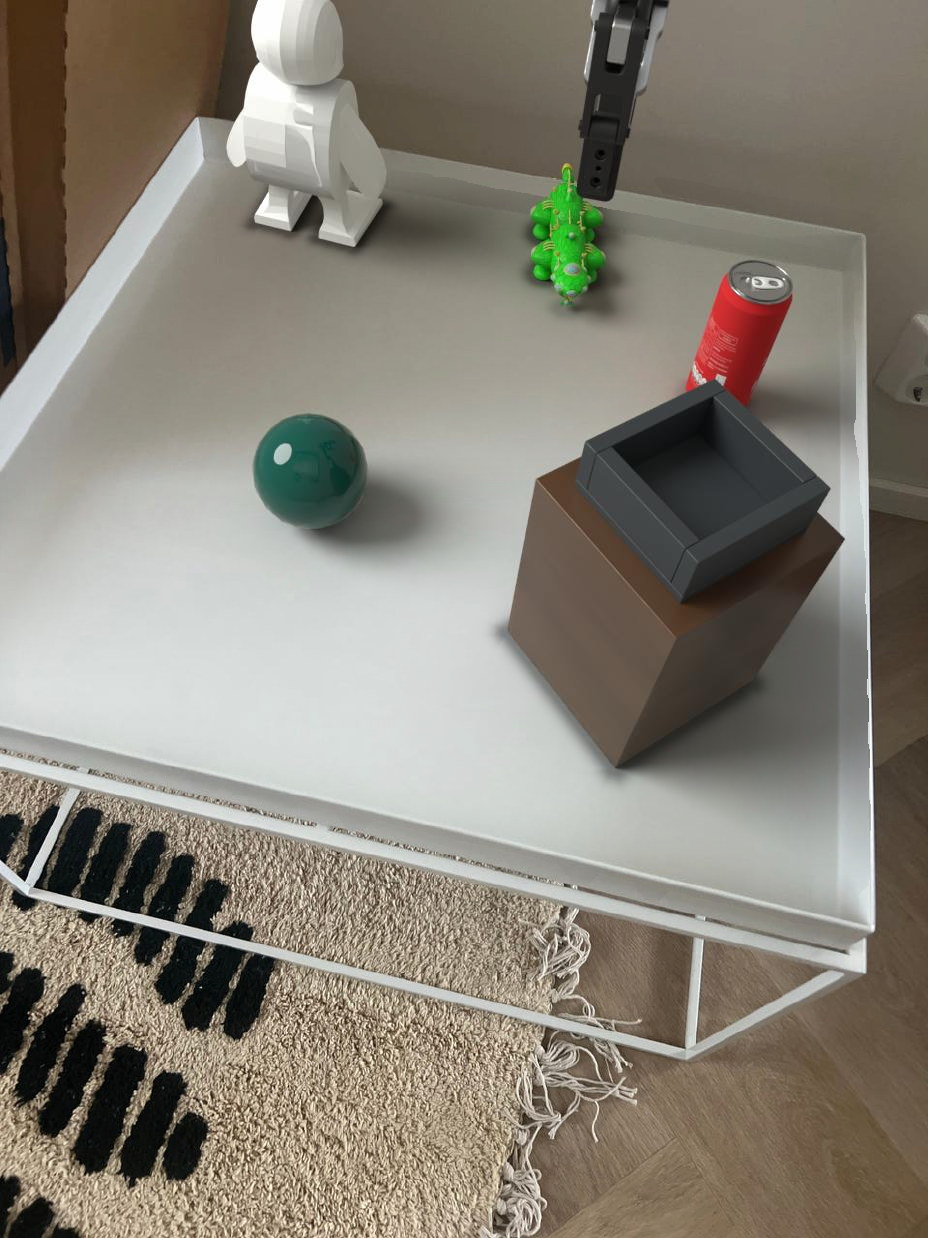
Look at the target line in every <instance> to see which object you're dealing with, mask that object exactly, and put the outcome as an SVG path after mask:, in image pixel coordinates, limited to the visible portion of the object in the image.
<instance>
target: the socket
mask: <svg viewBox="0 0 928 1238" xmlns="http://www.w3.org/2000/svg"><path fill="white" fill-rule="evenodd" d="M580 457H581V460H580V464H579V468H578V473H577V477H576V480H575V484H574V486H575V487H576V489H577V490H578V491H579V492H580V493H581V494H582V495H583V496H584V497H585V499H586V500H587V501H588V502H589V503H590V504H591V505H592V506H593V507H594V509H595V510H596V511H597V512H598V513H599V514H600V515H601V516H602V517H603V519H604V520H605V521H606V522H607V523H608V524H609V525H610V526H611V527H612V529H613V530H614V531H615V532H616V533H617V534H618V535H619V536H620V537H621V539H622V540H623V541H624V542H625V543H626V544H627V545H628V546H629V548H630V549H631V550H632V551H633V552H634V553H635V554H636V555H637V556H638V558H639V559H640V560H641V561H642V562H643V563H644V564H645V565H646V566H647V568H648V569H649V570H650V571H651V572H652V573H653V574H654V575H655V576H656V578H657V579H658V580H659V581H660V582H661V583H662V584H663V585H664V586H665V588H666V589H667V590H668V591H669V592H670V593H671V594H672V595H673V597H674V598H675V599H676V600H677V601H678V602H679V603H680V604H681V603H683V602H684V601H686V600H688V599H690V598H691V597H693V596H695V595H697V594H698V593H700V592H702V591H703V590H705V589H707V588H709V587H710V586H712V585H714V584H715V583H717V582H719V581H721V580H722V579H724V578H726V577H728V576H729V575H731V574H733V573H734V572H736V571H738V570H740V569H741V568H743V567H745V566H747V565H748V564H750V563H752V562H753V561H755V560H757V559H759V558H760V557H762V556H764V555H766V554H767V553H769V552H771V551H772V550H774V549H776V548H778V547H779V546H781V545H783V544H785V543H786V542H788V541H790V540H791V539H793V538H795V537H797V536H798V535H800V534H802V533H804V532H805V531H806V530H807V529H808V527H809V525H810V523H811V522H812V520H813V518H814V516H815V515H816V513H817V512H818V511H819V510H820V508H821V507H822V504H823V503H824V501H825V500H826V498H827V496H828V495H829V493H830V491H831V487H830V486H829V484H827V482H825V481H824V480H823V479H822V478H821V477H819V476H818V475H817V473H816V472H814V471H813V470H812V469H811V467H809V466H808V465H807V464H806V463H805V462H804V461H803V460H802V459H801V458H800V457H799V456H798V455H797V454H796V453H794V452H793V451H792V450H791V449H790V448H789V447H788V446H787V445H786V444H785V443H784V442H783V441H782V440H781V439H780V438H779V437H778V436H777V435H775V433H773V432H772V431H771V430H770V429H769V428H768V427H767V426H766V425H765V424H763V422H761V420H760V419H758V418H757V417H756V415H754V414H753V413H752V412H751V411H750V410H749V409H748V408H747V406H746V407H745V406H743V405H742V404H741V403H740V402H739V401H738V400H737V399H736V398H735V397H734V396H733V395H732V394H731V393H730V392H729V391H728V390H726V389H725V388H724V387H723V386H722V385H721V384H720V383H719V382H718V381H717V380H716V379H713V380H710V381H708V382H706V383H704V384H702V385H700V386H698V387H696V388H694V389H692V390H690V391H688V392H686V391H685V392H684V393H682V394H680V395H677V396H675V397H673V398H671V399H669V400H667V401H664V402H663V403H660V404H659V405H657V406H654V407H653V408H651V409H649V410H646V411H644V412H643V413H640V414H638V415H637V416H634V417H632V418H630V419H628V420H626V421H623V422H622V423H620V424H617V425H615V426H613V427H612V428H609V429H608V430H605V431H603V432H601V433H599V434H596V435H595V436H593V437H591V438H589V439H587V440H585V441H584V444H583V448H582V452H581V456H580Z"/></svg>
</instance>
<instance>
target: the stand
mask: <svg viewBox="0 0 928 1238" xmlns="http://www.w3.org/2000/svg"><path fill="white" fill-rule="evenodd" d="M580 460H581V456H580V457H577V458H575V459H573V460H571V461H569V462H567V463H565V464H562V465H561V466H559V467H557V468H555V469H553V470H550V471H548V472H547V473H545V474H542V475H541V476H539V477H536V478H535V480H534V485H533V486H534V487H533V492H532V497H531V502H530V507H529V512H528V513H529V514H528V517H527V523H526V529H525V533H524V539H523V545H522V550H521V556H520V560H519V566H518V570H517V576H516V581H515V586H514V587H515V588H514V592H513V597H512V603H511V608H510V613H509V618H508V623H507V629H506V631H507V633H509V635H510V636H511V637H512V639H513V640H514V641H515V643H516V644H517V645H518V646H519V648H520V650H522V652H523V653H524V654H525V655H526V656H527V658H528V659H529V661H530V662H531V663H532V665H533V666H534V667H535V668H536V669H537V670H538V672H539V673H540V675H542V678H544V679H545V681H546V682H547V684H548V685H549V686H550V688H552V690H553V692H555V693H556V696H558V697H559V699H560V700H561V701H562V703H563V704H564V705H565V707H566V708H567V709H568V711H570V712H571V714H572V715H573V716H574V718H575V719H576V720H577V721H578V723H579V724H580V725H581V727H582V728H583V729H584V730H585V732H586V733H587V734H588V736H589V737H590V738H591V740H592V741H593V742H594V743H595V745H596V746H597V747H598V748H599V749H600V751H601V752H602V753H603V755H604V756H605V758H607V760H608V761H609V763H610V764H611V765H612V766H613V768H615V769H616V768H618V767H619V766H621V765H622V764H623V763H626V762H627V761H628V760H630V759H631V758H633V757H635V756H636V755H638V754H640V753H641V752H643V751H644V750H646V749H647V748H649V747H650V746H652V745H654V744H655V743H657V742H658V741H660V740H662V739H663V738H665V737H666V736H668V735H669V734H671V733H672V732H674V731H676V730H677V729H680V728H681V727H682V726H684V725H685V724H687V723H688V722H690V721H691V720H693V719H694V718H697V717H698V716H699V715H702V714H703V713H704V712H705V711H707V710H709V709H711V708H712V707H713V706H715V705H717V704H718V703H720V702H721V701H723V700H724V699H726V698H727V697H730V695H732V694H734V693H735V692H737V691H738V690H741V689H742V688H743V687H745V686H747V685H749V684H750V683H751V682H753V681H754V680H755V678H756V677H757V675H758V673H759V672H760V670H761V669H762V668H763V666H764V664H765V663H766V661H767V660H768V658H769V657H770V655H771V653H772V652H773V650H775V647H776V646H777V644H778V643H779V641H781V638H782V637H783V635H784V633H785V632H786V631H787V630H788V627H789V626H790V624H791V623H792V621H793V620H794V618H795V617H796V616H797V614H798V612H799V611H800V609H801V608H802V606H803V605H804V603H805V602H806V600H807V599H808V597H809V596H810V594H811V592H812V591H813V589H814V588H815V586H816V584H817V583H818V582H819V581H820V578H821V577H822V576H823V574H824V573H825V571H826V570H827V568H828V566H829V565H830V563H832V560H833V559H834V557H835V556H836V554H837V553H838V552H839V549H841V547H842V545H843V544H844V542H845V541H846V538H845V536H843V535H842V534H841V533H840V532H839V531H838V530H837V529H836V528H835V527H834V526H833V525H832V524H831V523H830V522H828V520H827V519H826V518H825V517H824V516H822V515H821V514H820V512H818V511H817V513H816V515H815V516H814V518H813V520H812V522H811V523H810V525H809V527H808V529H807V530H806V531H805V532H804V533H802V534H800V535H798V536H797V537H795V538H793V539H791V540H790V541H788V542H786V543H785V544H783V545H781V546H779V547H778V548H776V549H774V550H772V551H771V552H769V553H767V554H766V555H764V556H762V557H760V558H759V559H757V560H755V561H753V562H752V563H750V564H748V565H747V566H745V567H743V568H741V569H740V570H738V571H736V572H734V573H733V574H731V575H729V576H728V577H726V578H724V579H722V580H721V581H719V582H717V583H715V584H714V585H712V586H710V587H709V588H707V589H705V590H703V591H702V592H700V593H698V594H697V595H695V596H693V597H691V598H690V599H688V600H686V601H684V602H683V603H681V604H680V603H679V602H678V601H677V600H676V599H675V598H674V597H673V595H672V594H671V593H670V592H669V591H668V590H667V589H666V588H665V586H664V585H663V584H662V583H661V582H660V581H659V580H658V579H657V578H656V576H655V575H654V574H653V573H652V572H651V571H650V570H649V569H648V568H647V566H646V565H645V564H644V563H643V562H642V561H641V560H640V559H639V558H638V556H637V555H636V554H635V553H634V552H633V551H632V550H631V549H630V548H629V546H628V545H627V544H626V543H625V542H624V541H623V540H622V539H621V537H620V536H619V535H618V534H617V533H616V532H615V531H614V530H613V529H612V527H611V526H610V525H609V524H608V523H607V522H606V521H605V520H604V519H603V517H602V516H601V515H600V514H599V513H598V512H597V511H596V510H595V509H594V507H593V506H592V505H591V504H590V503H589V502H588V501H587V500H586V499H585V497H584V496H583V495H582V494H581V493H580V492H579V491H578V490H577V489H576V487H575V486H574V484H575V480H576V477H577V473H578V468H579V464H580Z"/></svg>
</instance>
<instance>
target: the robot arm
mask: <svg viewBox="0 0 928 1238" xmlns="http://www.w3.org/2000/svg"><path fill="white" fill-rule="evenodd" d="M670 4H671V0H592V4H591V9H590V26H591V28H592V30H591V35H590V39H589V46H588V51H587V56H586V60H585V66H584V71H583V76H584V77H583V78H584V84H585V86H586V92H585V98H584V105H583V111H582V117H581V119H579V121H578V127H577V131H579V136H578V138H579V139H583V142H582V149H581V155H580V162H579V167H578V168H579V170H578V173H577V179H576V181H577V187H576V192H577V194H578V195H579V196H580V197H582V198H583V199H587V200H592V201H597V202H598V201H599V202H604V203H607V202H610V201H611V200H613V198H614V196H615V192H616V189H617V182H618V178H619V172H620V167H621V162H622V156H623V151H624V147H625V144H626V141H627V139H630V135H631V132H632V128H633V118H634V114H635V108H636V104H637V98H638V97H641V96H642V95H644V94H645V93H646V91H647V89H648V84H649V79H650V75H651V69H652V64H653V60H654V55H655V50H656V46H657V44H658V42H659V41H658V40H660V39H661V37H662V36H663V34H664V30H665V26H666V20H667V16H668V13H669V9H670Z"/></svg>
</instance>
